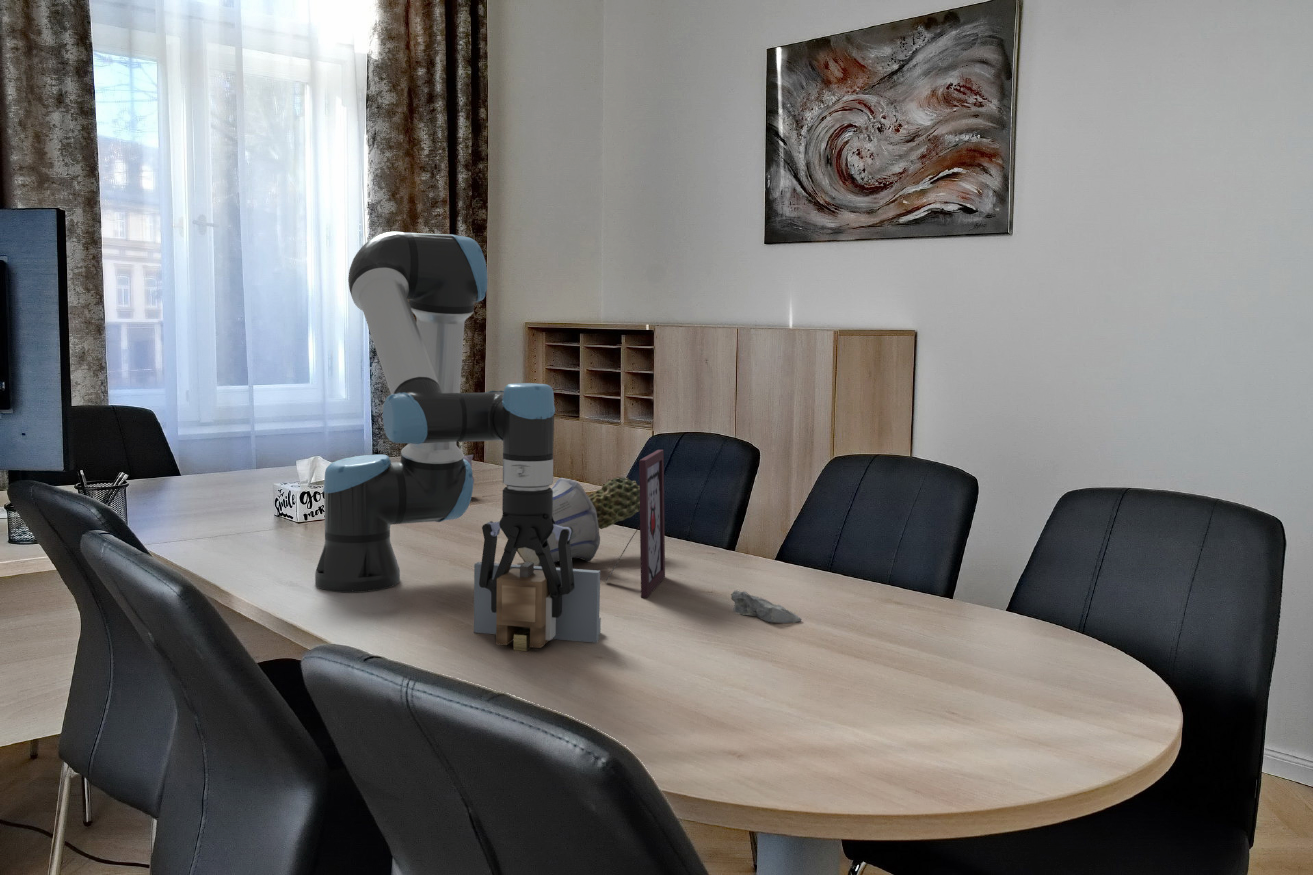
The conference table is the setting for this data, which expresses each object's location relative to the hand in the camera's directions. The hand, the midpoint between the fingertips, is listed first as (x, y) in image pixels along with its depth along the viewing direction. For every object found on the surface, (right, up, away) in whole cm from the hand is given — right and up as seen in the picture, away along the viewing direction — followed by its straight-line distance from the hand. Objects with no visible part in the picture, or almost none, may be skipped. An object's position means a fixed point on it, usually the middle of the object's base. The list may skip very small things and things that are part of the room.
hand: (526, 635), depth 163 cm
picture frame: (+15, +2, +38) cm, 41 cm away
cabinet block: (0, -1, 0) cm, 1 cm away
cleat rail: (0, -1, +1) cm, 2 cm away
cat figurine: (-35, +13, +132) cm, 137 cm away
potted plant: (+4, +5, +60) cm, 60 cm away
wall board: (+1, -1, +7) cm, 7 cm away
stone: (+38, -1, +19) cm, 43 cm away
